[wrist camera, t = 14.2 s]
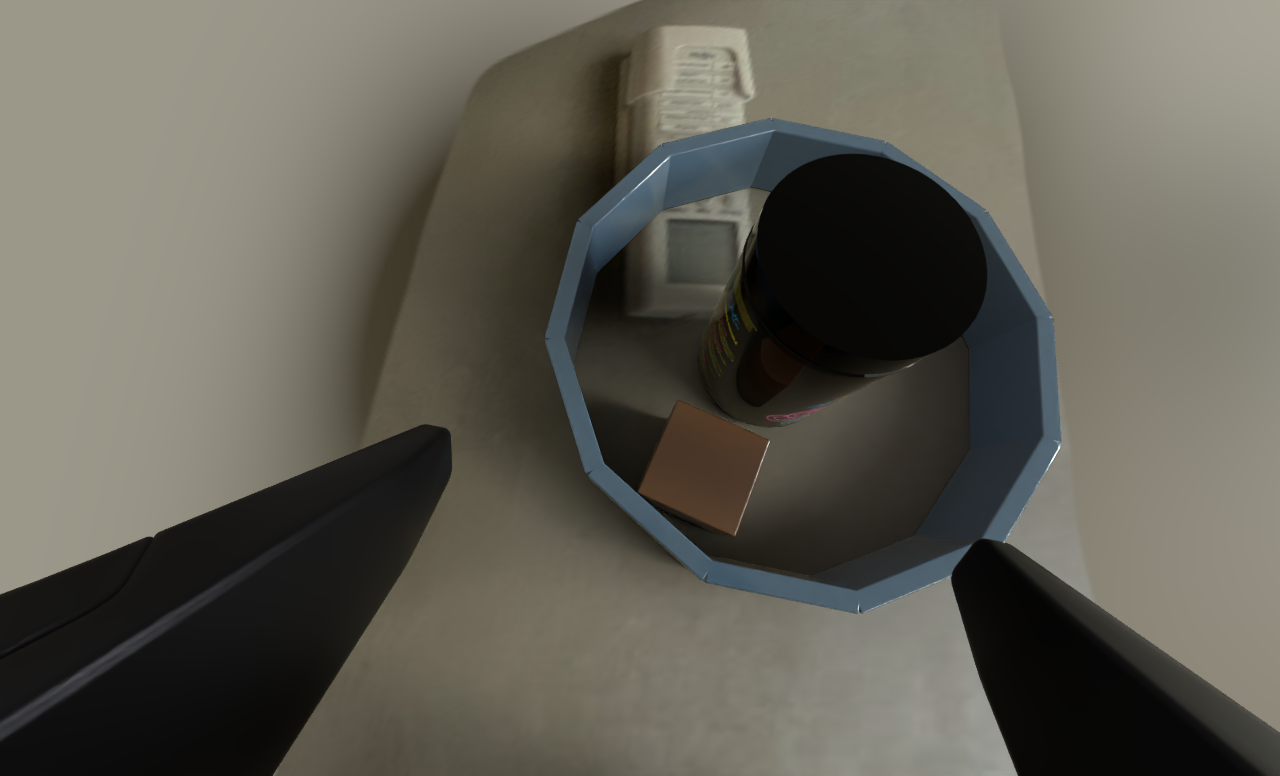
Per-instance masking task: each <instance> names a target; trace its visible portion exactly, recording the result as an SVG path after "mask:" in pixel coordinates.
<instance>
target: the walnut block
mask: <svg viewBox="0 0 1280 776" xmlns="http://www.w3.org/2000/svg"><path fill="white" fill-rule="evenodd" d="M769 442H770V441H769V440H768V439H766V438H764V437H761V436H759V435H757V434H755V433H752V432H750V431H748V430H746V429H743V428H741V427H739V426H736V425H734V424H732V423H730V422H727V421H725V420H723V419H721V418H718V417H716V416H714V415H712V414H709V413H707V412H705V411H703V410H700V409H698V408H696V407H694V406H691V405H689V404H687V403H685V402H682V401H680V400H677V402H676V404H675V405H674V407H673V409H672V411H671V413H670V415H669V417H668V418H667V420H666V423H665V425H664V427H663V429H662V432H661V434H660V436H659V439H658V441H657V443H656V445H655V448H654V450H653V452H652V455H651V457H650V459H649V461H648V464H647V466H646V468H645V471H644V473H643V475H642V477H641V480H640V482H639V484H638V486H637V489H636V492H637V493H638V494H639V495H640V496H641V497H642V498H644V499H645V500H646V501H647V502H648V503H649V504H651V505H653V506H655V507H657V508H659V509H662V510H664V511H666V512H668V513H670V514H672V515H675V516H677V517H679V518H681V519H683V520H685V521H688V522H690V523H692V524H694V525H696V526H698V527H701V528H703V529H705V530H707V531H709V532H711V533H716V534H721V535H727V536H732V537H735V536H736V533H737V530H738V527H739V525H740V522H741V519H742V516H743V514H744V511H745V508H746V505H747V503H748V500H749V497H750V494H751V492H752V489H753V486H754V483H755V481H756V478H757V475H758V472H759V470H760V467H761V464H762V462H763V459H764V456H765V453H766V451H767V448H768V445H769Z"/></svg>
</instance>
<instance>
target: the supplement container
mask: <svg viewBox="0 0 1280 776" xmlns="http://www.w3.org/2000/svg"><path fill="white" fill-rule="evenodd" d="M986 288H987V263H986V256H985V252H984V248H983V245H982V242H981V239H980V237H979V235H978V232H977V230H976V228H975V226H974V225H973V223H972V221H971V219H970V218H969V216H968V215H967V213H966V212H965V211H964V209H963V208H962V207H961V206H960V204H959V203H958V202H957V201H956V200H955V199H954V198H953V197H952V196H951V195H950V194H949V193H948V192H947V191H946V190H945V189H944V188H943V187H941V186H940V185H939V184H938V183H936V182H935V181H934V180H932V179H931V178H929V177H928V176H926V175H924V174H923V173H921V172H919V171H918V170H916V169H913V168H911V167H909V166H907V165H905V164H902V163H900V162H897V161H894V160H891V159H888V158H884V157H879V156H874V155H867V154H838V155H831V156H826V157H822V158H819V159H816V160H813V161H810V162H808V163H806V164H803V165H802V166H800V167H798V168H796V169H795V170H793V171H792V172H791V173H789V174H788V175H786V176H785V177H784V178H783V179H782V180H781V181H780V182H779V183H778V184H777V185H776V187H775V188H774V189H773V190H772V192H771V193H770V195H769V196H768V198H767V200H766V202H765V204H764V206H763V208H762V210H761V212H760V214H759V217H758V219H757V221H756V222H755V224H754V226H753V227H752V229H751V231H750V233H749V235H748V237H747V239H746V242H745V245H744V248H743V252H742V254H741V256H740V258H739V260H738V262H737V264H736V266H735V269H734V271H733V273H732V275H731V277H730V279H729V281H728V283H727V285H726V287H725V289H724V291H723V293H722V295H721V297H720V300H719V302H718V304H717V306H716V308H715V310H714V312H713V314H712V316H711V318H710V320H709V322H708V324H707V326H706V328H705V331H704V333H703V335H702V337H701V340H700V344H699V349H698V367H699V372H700V376H701V379H702V381H703V384H704V386H705V388H706V390H707V391H708V393H709V395H710V396H711V397H712V399H713V400H714V401H715V402H716V403H717V404H718V405H719V406H720V407H721V408H722V409H723V410H724V411H725V412H727V413H728V414H730V415H731V416H733V417H734V418H736V419H738V420H740V421H742V422H745V423H748V424H751V425H755V426H760V427H780V426H785V425H789V424H792V423H795V422H797V421H799V420H801V419H803V418H805V417H807V416H809V415H811V414H813V413H815V412H817V411H819V410H821V409H823V408H825V407H827V406H829V405H831V404H833V403H835V402H837V401H839V400H841V399H842V398H844V397H846V396H848V395H850V394H852V393H854V392H856V391H858V390H860V389H862V388H864V387H866V386H868V385H870V384H872V383H874V382H876V381H878V380H880V379H882V378H884V377H886V376H888V375H892V374H894V373H897V372H900V371H902V370H904V369H906V368H908V367H910V366H912V365H914V364H915V363H917V362H918V361H920V360H921V359H923V358H925V357H927V356H929V355H931V354H933V353H935V352H937V351H939V350H941V349H943V348H945V347H947V346H948V345H950V344H951V343H953V342H954V341H956V340H957V339H958V338H959V337H960V336H961V335H963V334H964V332H965V331H966V330H967V329H968V328H969V327H970V326H971V324H972V323H973V321H974V320H975V319H976V317H977V315H978V313H979V311H980V309H981V306H982V304H983V301H984V297H985V293H986Z"/></svg>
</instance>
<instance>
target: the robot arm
mask: <svg viewBox="0 0 1280 776" xmlns="http://www.w3.org/2000/svg"><path fill="white" fill-rule="evenodd" d="M451 472H452V450H451V434H450V432H449V430H448V429H446V428H443V427H438V426H433V425H428V424H424V425H420V426H418V427H415V428H413V429H410V430H408V431H405V432H403V433H400V434H398V435H396V436H393V437H391V438H388V439H386V440H383V441H381V442H378V443H376V444H374V445H371V446H369V447H366V448H364V449H361V450H359V451H356V452H354V453H351V454H349V455H347V456H344V457H342V458H339V459H337V460H334V461H332V462H330V463H327V464H325V465H322V466H320V467H317V468H315V469H313V470H310V471H308V472H305V473H303V474H300V475H298V476H295V477H293V478H290V479H288V480H285V481H283V482H281V483H278V484H276V485H273V486H271V487H268V488H266V489H263V490H261V491H258V492H256V493H254V494H251V495H249V496H246V497H244V498H241V499H239V500H237V501H234V502H231V503H229V504H227V505H224V506H222V507H219V508H217V509H215V510H212V511H209V512H207V513H205V514H202V515H200V516H197V517H195V518H192V519H190V520H187V521H185V522H183V523H180V524H178V525H175V526H173V527H170V528H168V529H165V530H163V531H160V532H158V533H157V534H156V535H155V536H154V538H153V537H145V538H143V539H141V540H138V541H136V542H133V543H131V544H128V545H126V546H123V547H121V548H118V549H116V550H114V551H111V552H109V553H106V554H104V555H101V556H99V557H96V558H94V559H91V560H89V561H86V562H84V563H81V564H78V565H76V566H73V567H71V568H68V569H66V570H63V571H61V572H58V573H56V574H53V575H50V576H48V577H45V578H43V579H40V580H38V581H35V582H33V583H30V584H27V585H25V586H22V587H19V588H16V589H14V590H11V591H8V592H6V593H3V594H1V595H0V776H273V774H274V773H275V771H276V769H277V768H278V766H279V765H280V763H281V762H282V760H283V758H284V757H285V755H286V754H287V752H288V751H289V749H290V747H291V746H292V744H293V743H294V741H295V740H296V738H297V736H298V735H299V733H300V732H301V730H302V729H303V727H304V725H305V724H306V722H307V721H308V719H309V718H310V716H311V714H312V713H313V711H314V710H315V708H316V707H317V705H318V703H319V702H320V700H321V699H322V697H323V696H324V694H325V692H326V691H327V689H328V688H329V686H330V685H331V683H332V681H333V680H334V678H335V677H336V675H337V674H338V672H339V670H340V669H341V667H342V666H343V664H344V663H345V661H346V659H347V658H348V656H349V655H350V653H351V652H352V650H353V648H354V647H355V645H356V644H357V642H358V641H359V639H360V637H361V636H362V634H363V633H364V631H365V630H366V628H367V626H368V625H369V623H370V622H371V620H372V619H373V617H374V615H375V614H376V612H377V611H378V609H379V608H380V606H381V604H382V603H383V601H384V600H385V598H386V597H387V595H388V593H389V592H390V590H391V589H392V587H393V586H394V584H395V582H396V581H397V579H398V578H399V576H400V575H401V573H402V571H403V570H404V568H405V566H406V565H407V563H408V561H409V559H410V558H411V556H412V554H413V552H414V550H415V548H416V546H417V544H418V542H419V540H420V538H421V536H422V534H423V532H424V530H425V528H426V526H427V524H428V522H429V520H430V518H431V516H432V514H433V512H434V510H435V508H436V506H437V504H438V502H439V499H440V497H441V495H442V493H443V491H444V489H445V487H446V485H447V483H448V481H449V479H450V476H451ZM951 582H952V587H953V590H954V594H955V597H956V600H957V604H958V607H959V610H960V614H961V617H962V621H963V624H964V627H965V631H966V634H967V638H968V641H969V644H970V648H971V651H972V655H973V658H974V661H975V665H976V668H977V671H978V674H979V677H980V680H981V683H982V685H983V688H984V691H985V693H986V696H987V699H988V701H989V704H990V706H991V709H992V711H993V714H994V716H995V719H996V721H997V724H998V726H999V729H1000V731H1001V734H1002V737H1003V739H1004V742H1005V744H1006V747H1007V749H1008V752H1009V754H1010V757H1011V759H1012V762H1013V764H1014V767H1015V769H1016V772H1017V775H1018V776H1280V732H1278V731H1277V730H1275V729H1274V728H1272V727H1271V726H1269V725H1268V724H1267V723H1265V722H1264V721H1262V720H1261V719H1259V718H1258V717H1257V716H1255V715H1254V714H1252V713H1251V712H1249V711H1248V710H1247V709H1245V708H1244V707H1242V706H1241V705H1239V704H1238V703H1237V702H1235V701H1234V700H1232V699H1231V698H1229V697H1228V696H1227V695H1225V694H1224V693H1222V692H1221V691H1219V690H1218V689H1217V688H1215V687H1214V686H1212V685H1211V684H1209V683H1208V682H1207V681H1205V680H1204V679H1202V678H1201V677H1199V676H1198V675H1197V674H1195V673H1194V672H1192V671H1191V670H1189V669H1188V668H1186V667H1185V666H1184V665H1182V664H1181V663H1179V662H1178V661H1177V660H1175V659H1174V658H1172V657H1171V656H1169V655H1168V654H1167V653H1165V652H1164V651H1162V650H1161V649H1159V648H1158V647H1156V646H1155V645H1154V644H1152V643H1151V642H1149V641H1148V640H1146V639H1145V638H1144V637H1142V636H1141V635H1139V634H1138V633H1136V632H1135V631H1134V630H1132V629H1131V628H1129V627H1128V626H1126V625H1125V624H1124V623H1122V622H1121V621H1119V620H1118V619H1116V618H1115V617H1114V616H1112V615H1111V614H1109V613H1108V612H1106V611H1105V610H1104V609H1102V608H1101V607H1099V606H1098V605H1096V604H1095V603H1094V602H1092V601H1091V600H1089V599H1088V598H1086V597H1085V596H1084V595H1082V594H1081V593H1079V592H1078V591H1076V590H1075V589H1074V588H1072V587H1071V586H1069V585H1068V584H1066V583H1065V582H1064V581H1062V580H1061V579H1059V578H1058V577H1056V576H1055V575H1054V574H1052V573H1051V572H1049V571H1048V570H1046V569H1045V568H1044V567H1042V566H1041V565H1039V564H1038V563H1036V562H1035V561H1033V560H1032V559H1031V558H1029V557H1028V556H1026V555H1025V554H1023V553H1022V552H1021V551H1019V550H1018V549H1016V548H1015V547H1013V546H1012V545H1010V544H1008V543H1005V542H1001V541H996V540H991V539H985V538H983V539H979V540H977V541H975V542H974V543H973V544H972V545H971V547H970V548H969V549H968V551H967V552H966V553H965V555H964V556H963V557H962V558H961V560H960V561H959V562H958V564H957V565H956V566H955V567H954V569H953V572H952V576H951Z"/></svg>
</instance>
